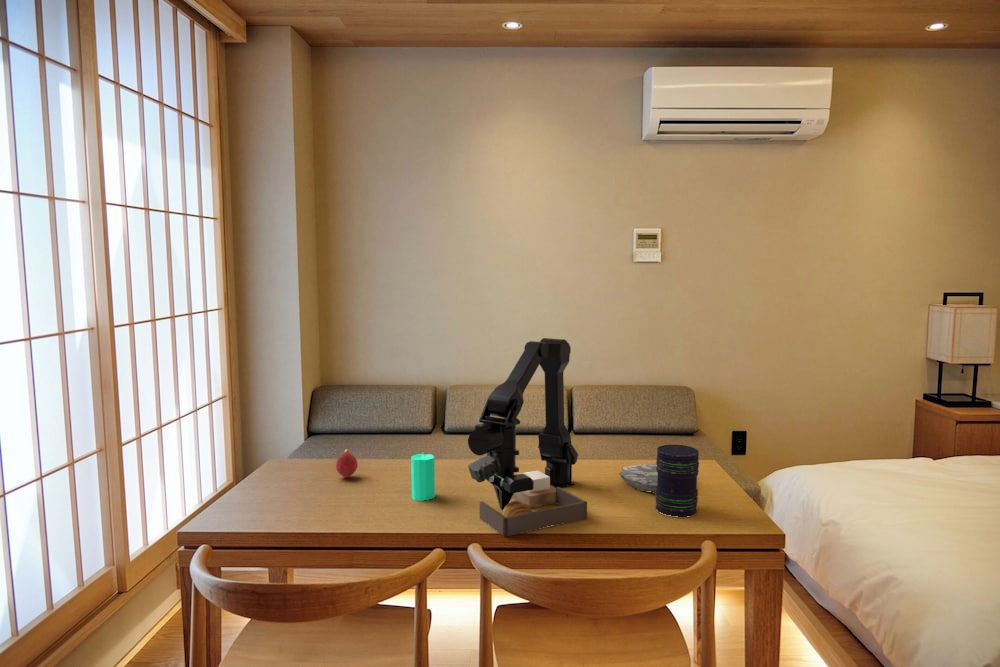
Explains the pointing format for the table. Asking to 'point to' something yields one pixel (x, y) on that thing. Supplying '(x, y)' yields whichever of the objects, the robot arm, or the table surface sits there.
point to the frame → (537, 515)
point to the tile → (538, 480)
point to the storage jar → (677, 480)
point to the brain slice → (641, 476)
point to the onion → (346, 464)
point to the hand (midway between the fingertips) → (503, 509)
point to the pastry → (516, 509)
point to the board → (537, 497)
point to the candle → (423, 477)
